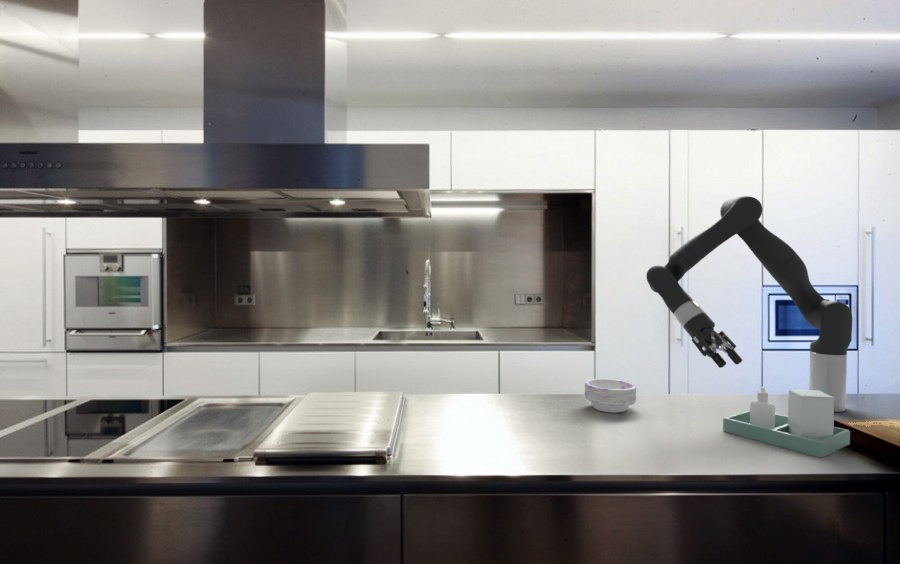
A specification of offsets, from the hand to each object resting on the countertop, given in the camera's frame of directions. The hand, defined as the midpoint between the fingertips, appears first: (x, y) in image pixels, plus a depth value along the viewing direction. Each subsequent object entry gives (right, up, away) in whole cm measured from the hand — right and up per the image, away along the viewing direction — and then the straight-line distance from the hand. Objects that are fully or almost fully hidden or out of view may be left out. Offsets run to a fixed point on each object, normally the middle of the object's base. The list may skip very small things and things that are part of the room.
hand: (731, 364), depth 145 cm
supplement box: (+11, -17, -16) cm, 26 cm away
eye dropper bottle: (+5, -17, -7) cm, 19 cm away
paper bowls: (-29, -17, +16) cm, 37 cm away
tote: (+8, -17, -11) cm, 22 cm away
